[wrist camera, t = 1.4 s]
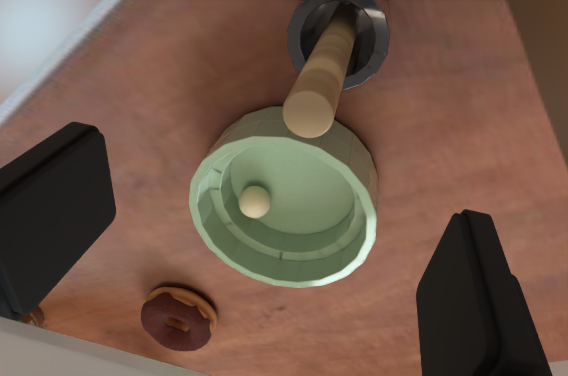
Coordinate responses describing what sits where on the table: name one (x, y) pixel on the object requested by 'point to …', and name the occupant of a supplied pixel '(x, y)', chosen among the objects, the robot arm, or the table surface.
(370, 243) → the bowl
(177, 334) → the donut
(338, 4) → the holder
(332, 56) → the stick
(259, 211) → the ball
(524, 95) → the table surface
